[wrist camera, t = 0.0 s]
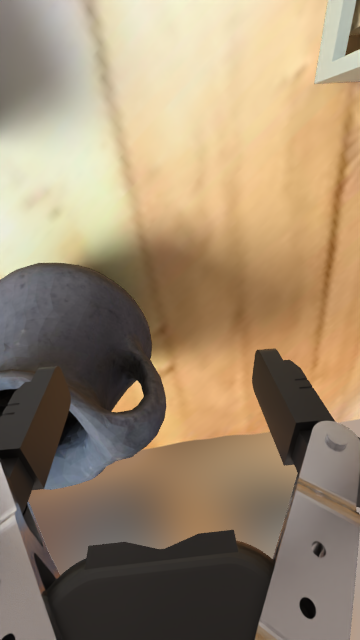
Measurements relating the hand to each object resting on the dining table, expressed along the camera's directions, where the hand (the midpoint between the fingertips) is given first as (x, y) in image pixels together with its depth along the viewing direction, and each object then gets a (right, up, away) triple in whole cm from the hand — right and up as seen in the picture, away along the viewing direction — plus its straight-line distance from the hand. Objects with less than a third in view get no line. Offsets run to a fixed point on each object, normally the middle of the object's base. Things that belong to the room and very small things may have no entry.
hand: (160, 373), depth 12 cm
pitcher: (-13, +5, +31) cm, 34 cm away
